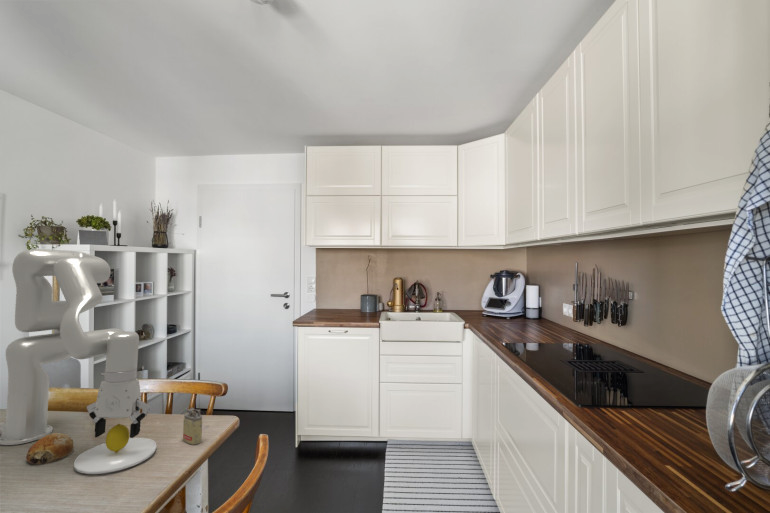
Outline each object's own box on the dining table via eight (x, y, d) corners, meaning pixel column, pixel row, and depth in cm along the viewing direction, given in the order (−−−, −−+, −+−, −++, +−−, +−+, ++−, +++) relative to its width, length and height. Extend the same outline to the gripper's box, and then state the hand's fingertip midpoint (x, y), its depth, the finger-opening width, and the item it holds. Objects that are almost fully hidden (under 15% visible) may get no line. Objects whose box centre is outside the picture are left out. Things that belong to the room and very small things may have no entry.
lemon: (116, 458, 102) (118, 428, 103) (99, 455, 103) (101, 426, 104) (133, 449, 108) (134, 421, 108) (117, 446, 109) (119, 419, 109)
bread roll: (74, 467, 107) (88, 437, 110) (36, 467, 98) (52, 434, 102) (51, 460, 110) (66, 431, 114) (13, 460, 101) (30, 429, 105)
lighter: (180, 440, 117) (181, 408, 118) (191, 435, 121) (193, 404, 121) (193, 446, 114) (194, 413, 114) (204, 441, 117) (206, 409, 117)
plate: (54, 476, 96) (54, 470, 96) (106, 442, 115) (107, 437, 115) (129, 476, 96) (129, 470, 96) (169, 442, 115) (169, 437, 115)
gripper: (80, 378, 102) (75, 440, 102) (143, 380, 103) (139, 442, 102) (99, 371, 110) (96, 429, 109) (159, 372, 111) (155, 430, 110)
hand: (117, 435), depth 106 cm, fingers open, 9 cm apart
